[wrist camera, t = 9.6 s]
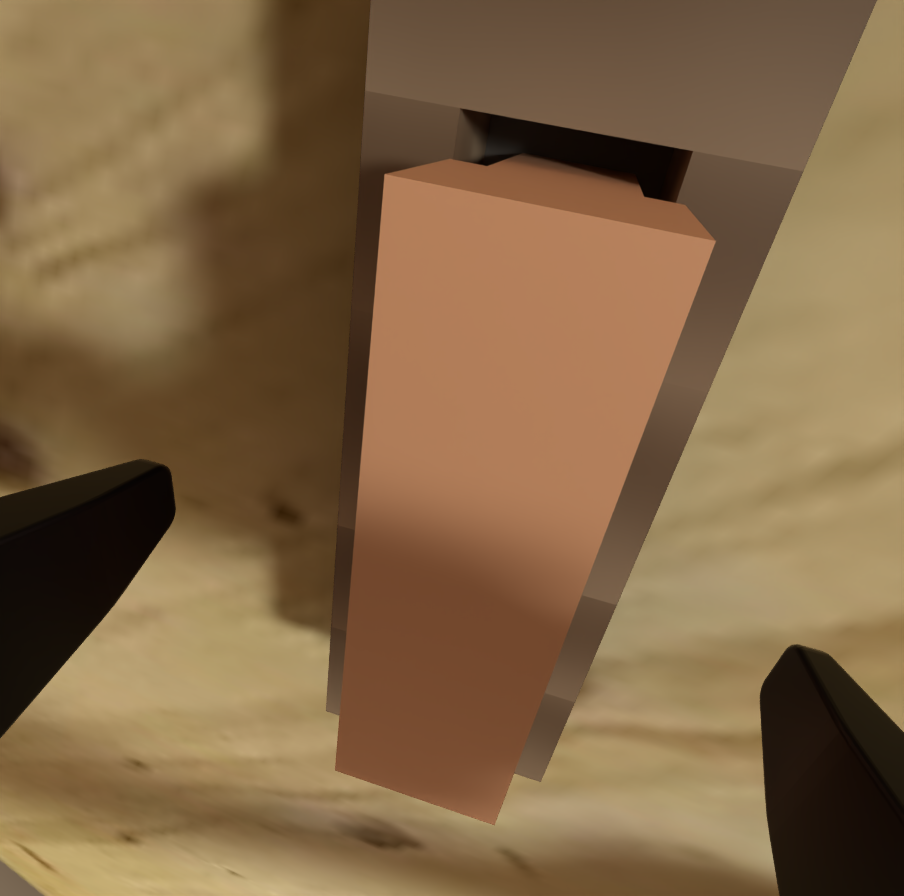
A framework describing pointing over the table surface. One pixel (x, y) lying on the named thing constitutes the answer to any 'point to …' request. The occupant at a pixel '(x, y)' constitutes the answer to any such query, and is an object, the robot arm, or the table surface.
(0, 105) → the table surface
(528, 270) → the clip
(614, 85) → the rail
